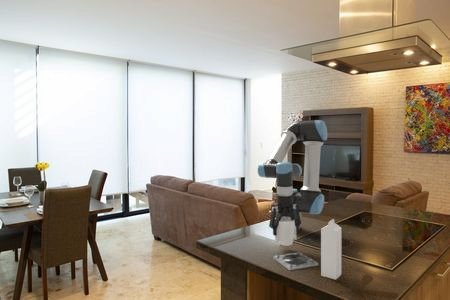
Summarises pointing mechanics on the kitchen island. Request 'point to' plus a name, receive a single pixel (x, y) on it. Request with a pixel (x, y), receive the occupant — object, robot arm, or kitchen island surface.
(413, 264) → the kitchen island surface
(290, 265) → the flange
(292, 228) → the cup
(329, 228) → the milk
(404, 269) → the kitchen island surface
